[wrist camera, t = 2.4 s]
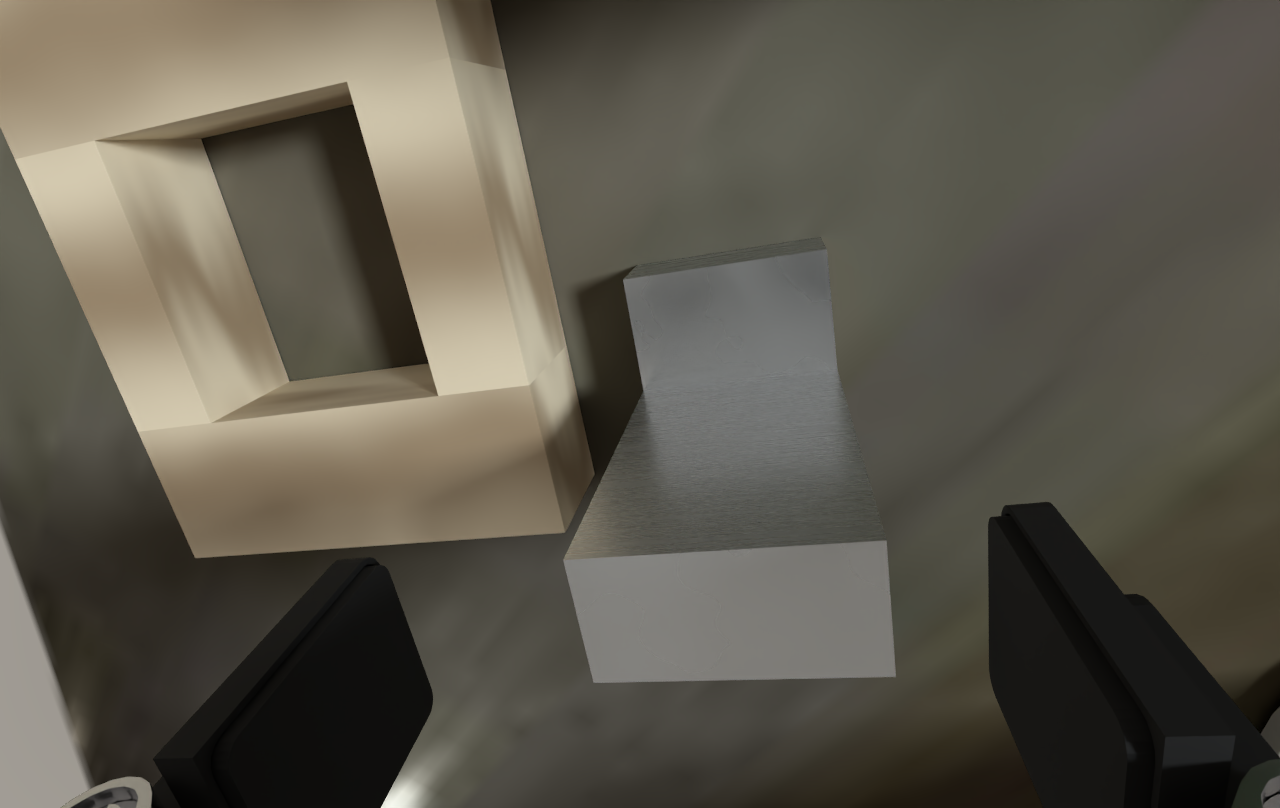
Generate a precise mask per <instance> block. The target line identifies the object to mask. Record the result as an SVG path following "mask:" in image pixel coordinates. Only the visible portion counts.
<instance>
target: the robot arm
mask: <svg viewBox="0 0 1280 808" xmlns="http://www.w3.org/2000/svg"><path fill="white" fill-rule="evenodd" d="M988 566H989V672H990V679H991V683H992V687H993V691H994V694H995V696H996V699H997V701H998V703H999V706H1000V708H1001V710H1002V713H1003V715H1004V717H1005V720H1006V722H1007V724H1008V726H1009V729H1010V731H1011V733H1012V736H1013V738H1014V740H1015V743H1016V745H1017V747H1018V750H1019V752H1020V754H1021V757H1022V759H1023V761H1024V764H1025V766H1026V768H1027V770H1028V773H1029V775H1030V777H1031V780H1032V782H1033V784H1034V787H1035V789H1036V791H1037V794H1038V796H1039V798H1040V801H1041V803H1042V805H1043V808H1280V707H1279V708H1278V709H1277V710H1276V711H1275V712H1274V713H1273V714H1272V716H1271V718H1270V719H1269V721H1268V723H1267V724H1266V726H1265V728H1264V729H1263V731H1262V733H1261V734H1260V733H1259V732H1258V731H1257V729H1256V728H1255V727H1254V726H1253V725H1252V723H1251V722H1250V721H1249V720H1248V719H1247V717H1246V716H1245V715H1244V714H1243V713H1242V711H1241V710H1240V709H1239V708H1238V707H1237V705H1236V704H1235V703H1234V702H1233V701H1232V699H1231V698H1230V697H1229V696H1228V695H1227V693H1226V692H1225V691H1224V690H1223V689H1222V687H1221V686H1220V685H1219V684H1218V683H1217V681H1216V680H1215V679H1214V678H1213V677H1212V675H1211V674H1210V673H1209V672H1208V671H1207V669H1206V668H1205V667H1204V666H1203V665H1202V663H1201V662H1200V661H1199V660H1198V659H1197V657H1196V656H1195V655H1194V654H1193V653H1192V651H1191V650H1190V649H1189V648H1188V647H1187V645H1186V644H1185V643H1184V642H1183V641H1182V639H1181V638H1180V637H1179V636H1178V635H1177V633H1176V632H1175V631H1174V630H1173V629H1172V627H1171V626H1170V625H1169V624H1168V623H1167V621H1166V620H1165V619H1164V618H1163V617H1162V615H1161V614H1160V613H1159V612H1158V611H1157V609H1156V608H1155V607H1154V606H1153V605H1152V604H1151V603H1150V602H1149V601H1148V600H1147V599H1146V598H1145V597H1143V596H1141V595H1138V594H1127V595H1124V594H1123V593H1122V591H1121V590H1120V589H1119V588H1118V586H1117V585H1116V584H1115V583H1114V581H1113V580H1112V579H1111V577H1110V576H1109V575H1108V574H1107V572H1106V571H1105V570H1104V569H1103V567H1102V566H1101V565H1100V564H1099V562H1098V561H1097V560H1096V559H1095V557H1094V556H1093V555H1092V554H1091V552H1090V551H1089V550H1088V548H1087V547H1086V546H1085V545H1084V543H1083V542H1082V541H1081V540H1080V538H1079V537H1078V536H1077V535H1076V533H1075V532H1074V531H1073V530H1072V528H1071V527H1070V526H1069V524H1068V523H1067V522H1066V521H1065V519H1064V518H1063V517H1062V516H1061V514H1060V513H1059V512H1058V511H1057V509H1056V508H1055V507H1054V506H1053V505H1052V504H1051V503H1049V502H1042V503H1029V504H1017V505H1005V506H1004V507H1003V510H1002V515H1001V516H998V517H991V518H990V519H989V524H988ZM432 704H433V693H432V689H431V686H430V683H429V681H428V678H427V675H426V672H425V670H424V667H423V664H422V661H421V659H420V656H419V653H418V650H417V648H416V645H415V642H414V639H413V637H412V634H411V631H410V628H409V626H408V623H407V620H406V617H405V615H404V612H403V609H402V606H401V604H400V601H399V598H398V595H397V592H396V590H395V587H394V584H393V581H392V579H391V576H390V573H389V571H388V569H387V568H386V567H385V566H382V565H379V563H378V562H377V561H376V560H375V559H374V558H371V557H369V558H356V559H344V560H338V561H336V562H335V563H333V564H332V565H331V566H330V567H329V568H328V569H327V571H326V572H325V573H324V574H323V575H322V576H321V577H320V578H319V579H318V580H317V581H316V582H315V584H314V585H313V586H312V587H311V588H310V589H309V590H308V591H307V592H306V593H305V594H304V595H303V597H302V598H301V599H300V600H299V601H298V602H297V603H296V604H295V605H294V606H293V607H292V609H291V610H290V611H289V612H288V613H287V614H286V615H285V616H284V617H283V618H282V619H281V620H280V622H279V623H278V624H277V625H276V626H275V627H274V628H273V629H272V630H271V631H270V632H269V633H268V635H267V636H266V637H265V638H264V639H263V640H262V641H261V642H260V643H259V644H258V645H257V646H256V648H255V649H254V650H253V651H252V652H251V653H250V654H249V655H248V656H247V657H246V658H245V660H244V661H243V662H242V663H241V664H240V665H239V666H238V667H237V668H236V669H235V670H234V671H233V673H232V674H231V675H230V676H229V677H228V678H227V679H226V680H225V681H224V682H223V683H222V684H221V686H220V687H219V688H218V689H217V690H216V691H215V692H214V693H213V694H212V695H211V696H210V698H209V699H208V700H207V701H206V702H205V703H204V704H203V705H202V706H201V707H200V708H199V709H198V711H197V712H196V713H195V714H194V715H193V716H192V717H191V718H190V719H189V720H188V721H187V722H186V724H185V725H184V726H183V727H182V728H181V729H180V730H179V731H178V732H177V733H176V734H175V736H174V737H173V738H172V739H171V740H170V741H169V742H168V743H167V744H166V745H165V746H164V747H163V749H162V750H161V751H160V752H159V753H158V754H157V755H156V756H155V757H154V758H153V760H154V761H155V763H156V765H157V767H158V769H159V770H160V772H161V774H162V777H161V779H160V780H159V781H158V782H157V783H156V784H155V785H154V787H153V788H152V786H151V784H150V783H149V782H147V781H146V780H145V779H143V778H142V777H124V778H119V779H114V780H111V781H108V782H106V783H103V784H101V785H98V786H96V787H93V788H91V789H89V790H88V791H86V792H84V793H82V794H81V795H79V796H77V797H75V798H74V799H72V800H71V801H69V802H68V803H66V804H65V805H64V806H62V807H61V808H381V806H382V804H383V802H384V800H385V798H386V797H387V795H388V793H389V791H390V789H391V787H392V785H393V783H394V781H395V779H396V778H397V776H398V774H399V772H400V770H401V768H402V766H403V764H404V762H405V760H406V759H407V757H408V755H409V753H410V751H411V749H412V747H413V745H414V743H415V742H416V740H417V738H418V736H419V734H420V732H421V730H422V728H423V726H424V724H425V723H426V721H427V719H428V717H429V715H430V712H431V709H432Z"/></svg>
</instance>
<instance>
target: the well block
mask: <svg viewBox="0 0 1280 808" xmlns="http://www.w3.org/2000/svg"><path fill="white" fill-rule="evenodd" d="M352 104H354V108H355V111H356V114H357V118H358V121H359V125H360V128H361V132H362V135H363V139H364V142H365V145H366V149H367V152H368V156H369V159H370V163H371V166H372V169H373V173H374V176H375V180H376V183H377V187H378V190H379V193H380V197H381V200H382V204H383V207H384V211H385V214H386V218H387V221H388V224H389V228H390V231H391V235H392V238H393V242H394V245H395V248H396V252H397V255H398V259H399V262H400V266H401V269H402V273H403V276H404V279H405V283H406V286H407V290H408V293H409V297H410V300H411V303H412V307H413V310H414V314H415V317H416V321H417V324H418V328H419V331H420V334H421V338H422V341H423V345H424V348H425V352H426V355H427V358H428V362H429V363H428V364H420V365H412V366H405V367H397V368H389V369H382V370H374V371H366V372H359V373H351V374H344V375H336V376H328V377H321V378H313V379H305V380H298V381H290V382H289V379H288V376H287V374H286V371H285V368H284V365H283V363H282V360H281V357H280V354H279V352H278V349H277V346H276V343H275V341H274V338H273V335H272V332H271V330H270V327H269V324H268V321H267V319H266V316H265V313H264V310H263V308H262V305H261V302H260V299H259V297H258V294H257V291H256V288H255V286H254V283H253V280H252V277H251V275H250V272H249V269H248V266H247V264H246V261H245V258H244V255H243V253H242V250H241V247H240V244H239V242H238V239H237V236H236V233H235V231H234V228H233V225H232V222H231V220H230V217H229V214H228V211H227V209H226V206H225V203H224V201H223V198H222V195H221V192H220V190H219V187H218V184H217V181H216V179H215V176H214V173H213V170H212V168H211V165H210V162H209V159H208V157H207V154H206V151H205V148H204V146H203V143H202V140H201V139H202V138H206V137H211V136H215V135H219V134H224V133H228V132H233V131H237V130H242V129H246V128H250V127H255V126H259V125H264V124H268V123H273V122H277V121H281V120H286V119H290V118H295V117H299V116H304V115H308V114H312V113H317V112H321V111H326V110H330V109H335V108H339V107H343V106H348V105H352ZM0 127H1V129H2V132H3V134H4V136H5V138H6V140H7V143H8V145H9V147H10V149H11V151H12V154H13V156H14V158H15V160H16V163H17V165H18V167H19V169H20V171H21V174H22V176H23V178H24V180H25V182H26V185H27V187H28V189H29V191H30V194H31V196H32V198H33V200H34V202H35V205H36V207H37V209H38V211H39V213H40V216H41V218H42V220H43V222H44V225H45V227H46V229H47V231H48V233H49V236H50V238H51V240H52V242H53V244H54V247H55V249H56V251H57V253H58V256H59V258H60V260H61V262H62V264H63V267H64V269H65V271H66V273H67V275H68V278H69V280H70V282H71V284H72V287H73V289H74V291H75V293H76V295H77V298H78V300H79V302H80V304H81V306H82V309H83V311H84V313H85V315H86V318H87V320H88V322H89V324H90V326H91V329H92V331H93V333H94V335H95V337H96V340H97V342H98V344H99V346H100V349H101V351H102V353H103V355H104V357H105V360H106V362H107V364H108V366H109V368H110V371H111V373H112V375H113V377H114V380H115V382H116V384H117V386H118V388H119V391H120V393H121V395H122V397H123V399H124V402H125V404H126V406H127V408H128V411H129V413H130V415H131V417H132V419H133V422H134V424H135V426H136V428H137V430H138V433H139V435H140V437H141V439H142V442H143V444H144V446H145V448H146V450H147V453H148V455H149V457H150V459H151V461H152V464H153V466H154V468H155V470H156V473H157V475H158V477H159V479H160V481H161V484H162V486H163V488H164V490H165V492H166V495H167V497H168V499H169V501H170V504H171V506H172V508H173V510H174V512H175V515H176V517H177V519H178V521H179V523H180V526H181V528H182V530H183V532H184V535H185V537H186V539H187V541H188V543H189V546H190V548H191V550H192V552H193V554H194V557H195V558H206V557H220V556H235V555H249V554H264V553H278V552H293V551H307V550H322V549H336V548H351V547H365V546H380V545H394V544H409V543H423V542H438V541H452V540H467V539H481V538H496V537H510V536H525V535H539V534H554V533H565V532H566V530H567V528H568V526H569V524H570V522H571V520H572V518H573V516H574V514H575V512H576V510H577V508H578V506H579V504H580V502H581V500H582V498H583V496H584V494H585V492H586V490H587V488H588V486H589V484H590V482H591V480H592V478H593V476H594V474H595V473H594V469H593V464H592V459H591V455H590V450H589V446H588V441H587V437H586V432H585V428H584V423H583V419H582V414H581V410H580V405H579V401H578V396H577V391H576V387H575V382H574V378H573V373H572V369H571V364H570V360H569V355H568V351H567V346H566V342H565V337H564V332H563V328H562V323H561V319H560V314H559V310H558V305H557V301H556V296H555V292H554V287H553V283H552V278H551V273H550V269H549V264H548V260H547V255H546V251H545V246H544V242H543V237H542V233H541V228H540V224H539V219H538V214H537V210H536V205H535V201H534V196H533V192H532V187H531V183H530V178H529V174H528V169H527V165H526V160H525V155H524V151H523V146H522V142H521V137H520V133H519V128H518V124H517V119H516V115H515V110H514V106H513V101H512V97H511V92H510V87H509V83H508V78H507V74H506V69H505V65H504V60H503V56H502V51H501V47H500V42H499V38H498V33H497V28H496V24H495V19H494V15H493V10H492V6H491V1H490V0H0Z"/></svg>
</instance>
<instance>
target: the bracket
mask: <svg viewBox="0 0 1280 808" xmlns="http://www.w3.org/2000/svg"><path fill="white" fill-rule="evenodd" d="M623 283H624V288H625V293H626V299H627V304H628V310H629V315H630V320H631V326H632V331H633V336H634V342H635V347H636V352H637V358H638V363H639V369H640V374H641V379H642V385H643V390H644V391H643V393H642V395H641V397H640V399H639V401H638V404H637V406H636V408H635V410H634V412H633V414H632V416H631V418H630V420H629V423H628V425H627V427H626V429H625V431H624V433H623V435H622V437H621V439H620V442H619V444H618V446H617V448H616V450H615V452H614V454H613V456H612V458H611V460H610V463H609V465H608V467H607V469H606V471H605V473H604V475H603V477H602V479H601V482H600V484H599V486H598V488H597V490H596V492H595V494H594V496H593V498H592V501H591V503H590V505H589V507H588V509H587V511H586V513H585V515H584V517H583V520H582V522H581V524H580V526H579V528H578V530H577V532H576V534H575V536H574V539H573V541H572V543H571V545H570V547H569V549H568V551H567V553H566V555H565V558H564V560H563V561H564V565H565V569H566V573H567V577H568V581H569V585H570V589H571V593H572V597H573V601H574V605H575V609H576V613H577V617H578V621H579V625H580V629H581V633H582V637H583V641H584V645H585V649H586V653H587V657H588V661H589V666H590V670H591V674H592V678H593V682H594V683H607V682H658V681H708V680H759V679H809V678H859V677H896V672H895V658H894V643H893V629H892V614H891V599H890V585H889V570H888V556H887V541H886V537H885V534H884V530H883V527H882V523H881V520H880V516H879V513H878V509H877V506H876V502H875V499H874V495H873V492H872V488H871V485H870V481H869V478H868V474H867V471H866V468H865V464H864V461H863V457H862V454H861V450H860V447H859V443H858V440H857V436H856V433H855V429H854V426H853V422H852V419H851V415H850V412H849V408H848V405H847V401H846V398H845V394H844V391H843V387H842V384H841V380H840V377H839V373H838V370H837V361H836V350H835V338H834V327H833V315H832V304H831V293H830V281H829V270H828V258H827V249H826V247H825V245H824V243H823V241H822V238H821V237H819V238H812V239H806V240H799V241H793V242H786V243H780V244H773V245H767V246H760V247H754V248H747V249H741V250H734V251H728V252H721V253H715V254H708V255H702V256H695V257H688V258H682V259H675V260H669V261H662V262H656V263H649V264H643V265H637V266H636V267H635V268H634V269H633V270H632V271H631V272H630V273H629V274H628V275H627V276H626V277H625V278H624V279H623Z"/></svg>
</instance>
